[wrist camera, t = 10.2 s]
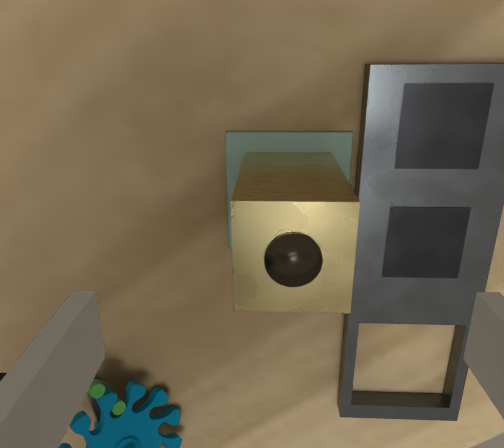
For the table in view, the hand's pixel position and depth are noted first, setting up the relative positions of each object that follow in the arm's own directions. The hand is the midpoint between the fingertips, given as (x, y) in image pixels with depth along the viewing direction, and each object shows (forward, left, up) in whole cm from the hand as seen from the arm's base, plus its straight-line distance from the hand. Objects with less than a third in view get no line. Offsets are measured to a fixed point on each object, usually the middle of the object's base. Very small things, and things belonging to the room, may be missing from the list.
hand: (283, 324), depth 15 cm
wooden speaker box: (0, 0, -15) cm, 15 cm away
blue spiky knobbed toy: (-12, -19, -16) cm, 27 cm away
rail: (+9, -5, -15) cm, 18 cm away
